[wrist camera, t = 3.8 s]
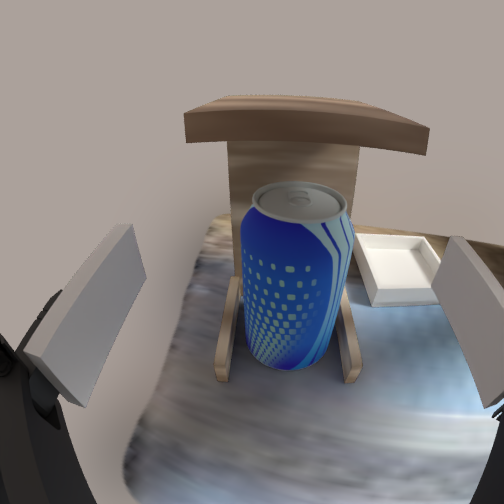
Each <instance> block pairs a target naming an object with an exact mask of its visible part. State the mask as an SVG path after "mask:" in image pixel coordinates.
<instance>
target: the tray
mask: <svg viewBox="0 0 504 504" xmlns="http://www.w3.org/2000/svg"><path fill="white" fill-rule="evenodd" d="M352 251H353V253H354V256H355V259H356V262H357V265H358V267H359V270H360V273H361V276H362V279H363V282H364V285H365V288H366V291H367V294H368V297H369V300H370V303H371V306H372V307H395V306H419V305H437V304H440V303H439V301H438V299H437V297H436V295H435V293H434V291H433V289H432V288H431V284H432V282H433V279H434V277H435V275H436V272H437V270H438V267H439V265H440V262H441V260H440V259H439V257H438V256H437V254H436V253H435V251H434V250H433V248H432V247H431V246H430V244H429V243H428V241H427V240H426V239H425V237H419V236H401V235H380V234H358V233H356V234H355V240H354V245H353V250H352Z"/></svg>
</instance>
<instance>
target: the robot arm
mask: <svg viewBox="0 0 504 504" xmlns="http://www.w3.org/2000/svg"><path fill="white" fill-rule="evenodd" d="M145 280H146V274H145V271H144V267H143V264H142V260H141V256H140V253H139V249H138V245H137V241H136V237H135V233H134V228H133V224H116V225H115V226H114V227H113V229H112V230H111V231H110V232H109V233H108V234H107V236H106V237H105V238H104V239H103V240H102V241H101V243H100V244H99V245H98V246H97V247H96V248H95V250H94V251H93V252H92V253H91V255H90V256H89V257H88V259H87V260H86V261H85V262H84V263H83V265H82V266H81V267H80V268H79V270H78V271H77V272H76V274H75V275H74V276H73V277H72V279H71V280H70V281H69V283H68V284H67V286H66V287H65V288H64V290H60V291H58V293H56V294H55V295H54V296H52V297H51V298H50V300H49V301H48V302H47V304H46V305H45V307H44V308H43V311H41V312H40V314H39V315H38V316H37V320H35V321H34V322H33V324H32V326H31V327H30V328H29V330H28V332H27V333H26V335H25V336H24V338H23V339H22V341H21V343H20V345H19V346H18V348H17V349H16V351H15V352H14V350H13V349H12V348H11V346H10V345H9V344H8V342H7V341H6V340H5V338H4V337H3V336H2V335H1V334H0V504H97V503H96V501H95V499H94V497H93V495H92V493H91V490H90V488H89V486H88V484H87V481H86V479H85V477H84V474H83V472H82V469H81V467H80V464H79V462H78V459H77V456H76V454H75V451H74V448H73V445H72V442H71V439H70V436H69V433H68V430H67V426H66V423H65V419H64V416H63V412H62V408H61V405H60V403H59V401H58V399H57V397H58V395H59V393H60V394H61V395H62V396H63V397H64V398H65V399H66V400H67V401H68V402H71V403H73V404H76V405H78V406H81V407H84V408H86V406H87V403H88V401H89V398H90V396H91V393H92V391H93V389H94V386H95V384H96V381H97V379H98V377H99V374H100V372H101V370H102V368H103V365H104V363H105V361H106V359H107V356H108V354H109V352H110V350H111V348H112V345H113V343H114V341H115V339H116V337H117V335H118V333H119V330H120V329H121V326H122V324H123V322H124V320H125V318H126V316H127V314H128V312H129V310H130V308H131V306H132V304H133V302H134V300H135V298H136V297H137V295H138V293H139V291H140V289H141V287H142V285H143V283H144V281H145ZM431 288H432V289H433V291H434V293H435V295H436V297H437V299H438V301H439V303H440V305H441V306H442V308H443V310H444V312H445V314H446V316H447V318H448V320H449V323H450V325H451V327H452V329H453V331H454V333H455V335H456V337H457V340H458V342H459V344H460V346H461V349H462V351H463V353H464V356H465V358H466V361H467V363H468V366H469V368H470V371H471V373H472V376H473V378H474V381H475V384H476V387H477V389H478V392H479V395H480V398H481V401H482V404H483V407H484V409H485V408H488V407H490V406H493V405H495V404H497V403H499V402H500V401H501V400H502V399H503V398H504V289H503V288H502V286H501V285H500V283H499V282H498V281H497V279H496V278H495V276H494V275H493V274H492V272H491V271H490V270H489V268H488V267H487V266H486V264H485V263H484V262H483V261H482V259H481V258H480V257H479V256H478V254H477V253H476V252H475V251H474V249H473V248H472V247H471V246H470V245H469V243H468V242H467V241H466V240H465V239H464V238H463V237H460V236H450V238H449V241H448V244H447V247H446V249H445V252H444V255H443V257H442V260H441V262H440V265H439V267H438V270H437V272H436V275H435V277H434V279H433V282H432V284H431ZM500 412H502V414H501V415H499V416H498V417H497V419H496V420H498V421H500V423H499V427H498V430H497V434H496V437H495V441H494V444H493V447H492V450H491V453H490V456H489V459H488V462H487V464H486V467H485V470H484V472H483V475H482V477H481V479H480V482H479V484H478V487H477V489H476V491H475V493H474V495H473V497H472V500H471V502H470V504H504V404H503V405H502V406H501V407H500V408H499V409H497V410H496V411H495V412H494V413H493V415H492V418H494V417H496V416H497V415H498V414H499V413H500Z"/></svg>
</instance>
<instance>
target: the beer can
mask: <svg viewBox="0 0 504 504" xmlns="http://www.w3.org/2000/svg"><path fill="white" fill-rule="evenodd" d="M252 202H253V204H252V205H251V207H250V209H249V210H248V212H247V213H246V215H245V216H244V218H243V220H242V222H241V227H240V238H241V258H242V278H243V298H244V316H245V334H246V343H247V346H248V348H249V350H250V352H251V353H252V355H253V356H254V357H255V358H256V359H257V360H258V361H260V362H261V363H263V364H265V365H266V366H269V367H271V368H274V369H278V370H283V371H292V370H299V369H303V368H306V367H309V366H311V365H313V364H314V363H316V362H317V361H318V360H320V358H321V357H322V356H323V355H324V354H325V352H326V350H327V348H328V345H329V342H330V338H331V335H332V331H333V328H334V324H335V321H336V317H337V313H338V309H339V306H340V302H341V298H342V294H343V290H344V286H345V281H346V277H347V273H348V268H349V264H350V259H351V255H352V250H353V245H354V240H355V232H354V228H353V225H352V223H351V221H350V218H349V216H348V214H347V212H346V209H347V201H346V199H345V198H344V197H343V196H342V195H341V194H340V193H339V192H337V191H335V190H334V189H331V188H329V187H327V186H324V185H320V184H316V183H311V182H303V181H283V182H276V183H272V184H268V185H265V186H263V187H261V188H259V189H258V190H257V191H256V192H255V193H254V194H253V197H252Z"/></svg>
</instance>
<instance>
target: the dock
mask: <svg viewBox="0 0 504 504" xmlns="http://www.w3.org/2000/svg"><path fill="white" fill-rule="evenodd" d="M184 124H185V135H186V143H195V142H196V143H197V142H217V141H227V151H228V170H229V189H230V205H231V223H232V238H233V254H234V268H235V276H231V278H230V283H229V287H228V292H227V297H226V302H225V307H224V312H223V317H222V322H221V328H220V333H219V338H218V343H217V348H216V353H215V358H214V364H213V365H214V369H215V373H216V378H217V381H223V382H228V378H229V371H230V364H231V357H232V350H233V343H234V337H235V330H236V323H237V316H238V310H239V303H240V296H243V278H242V258H241V238H240V227H241V222H242V220H243V218H244V216H245V215H246V213H247V212H248V210H249V209H250V207H251V205H252V204H253V202H252V197H253V194H254V193H255V192H256V191H257V190H258V189H259V188H261V187H263V186H265V185H268V184H272V183H276V182H283V181H303V182H311V183H316V184H320V185H324V186H327V187H329V188H331V189H334V190H335V191H337V192H339V193H340V194H341V195H342V196H343V197H344V198H345V199H346V201H347V209H346V212H347V214H348V216H349V218H351V211H352V205H353V198H354V191H355V184H356V176H357V168H358V160H359V150H360V146H361V147H370V148H378V149H386V150H393V151H400V152H406V153H414V154H419V155H424V156H426V151H427V144H428V137H429V131H430V129H429V128H428V127H426V126H423V125H421V124H419V123H416V122H414V121H412V120H409V119H407V118H404V117H401V116H399V115H396V114H394V113H391V112H389V111H386V110H383V109H380V108H377V107H374V106H371V105H368V104H365V103H362V102H359V101H351V100H343V99H334V98H323V97H309V96H288V95H238V96H237V95H236V96H226V97H223V98H220V99H218V100H215V101H213V102H210V103H207V104H205V105H202V106H200V107H198V108H195V109H193V110H190V111H188V112H186V113H184ZM335 324H336V330H337V336H338V342H339V348H340V355H341V361H342V368H343V376H344V383H354V382H355V381H356V379H357V377H358V375H359V373H360V371H361V369H362V367H363V363H362V358H361V353H360V348H359V344H358V339H357V334H356V330H355V326H354V321H353V317H352V313H351V308H350V304H349V300H348V296H347V292H346V288H345V286H344V290H343V294H342V298H341V302H340V306H339V309H338V313H337V317H336V321H335Z"/></svg>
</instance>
